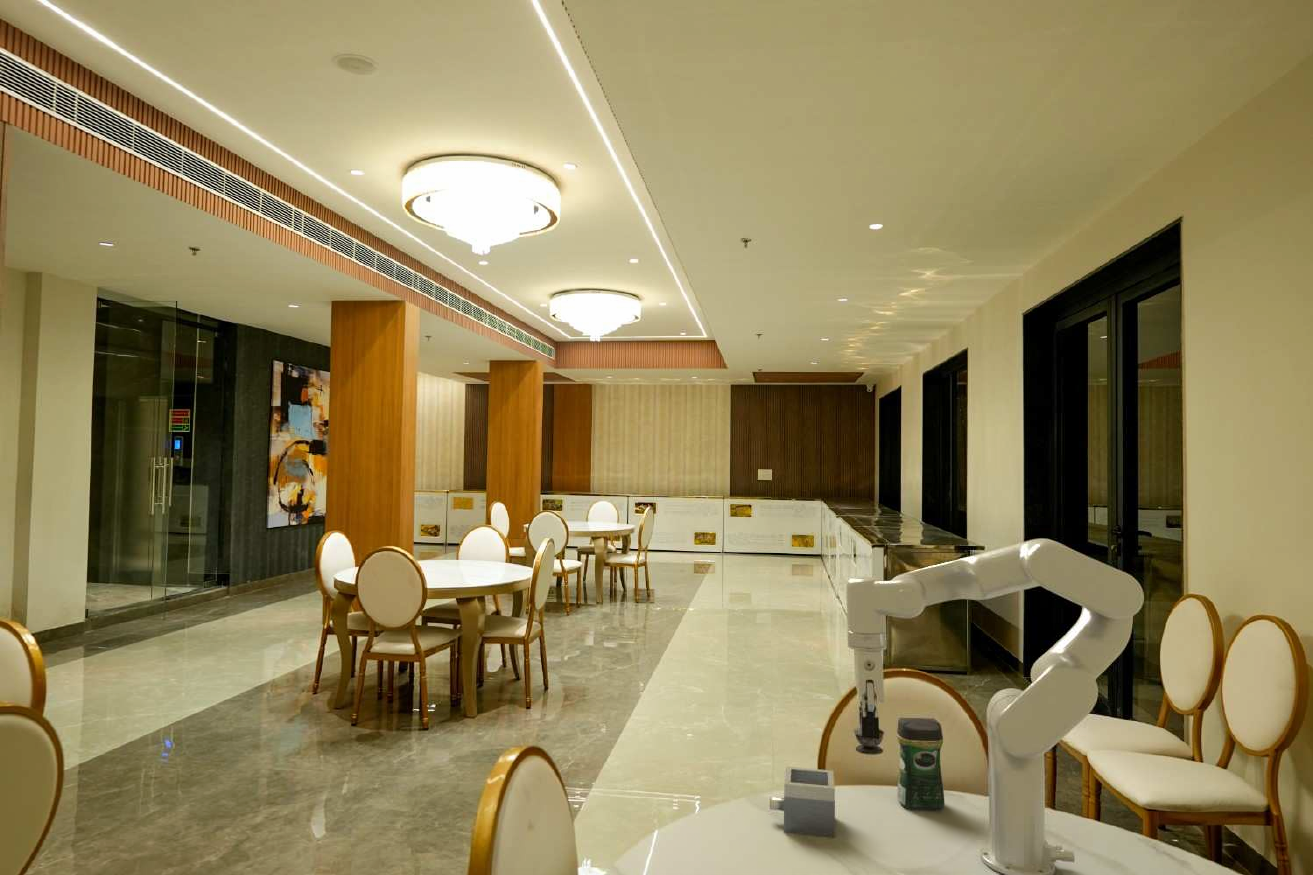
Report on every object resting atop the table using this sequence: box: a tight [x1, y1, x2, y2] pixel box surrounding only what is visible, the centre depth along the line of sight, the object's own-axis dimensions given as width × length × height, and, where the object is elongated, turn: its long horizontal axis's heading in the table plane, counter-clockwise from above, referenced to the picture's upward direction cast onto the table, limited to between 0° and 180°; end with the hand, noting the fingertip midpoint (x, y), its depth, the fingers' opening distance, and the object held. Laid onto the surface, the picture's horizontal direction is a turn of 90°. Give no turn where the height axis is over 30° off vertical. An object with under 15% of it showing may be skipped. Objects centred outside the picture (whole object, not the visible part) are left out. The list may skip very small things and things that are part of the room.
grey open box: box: [769, 766, 836, 839], centre depth 161 cm, size 13×12×10 cm
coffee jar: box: [896, 717, 945, 811], centre depth 171 cm, size 10×8×19 cm
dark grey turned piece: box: [853, 697, 885, 756], centre depth 153 cm, size 6×6×12 cm
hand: (869, 731), depth 153 cm, fingers closed on dark grey turned piece, 5 cm apart
